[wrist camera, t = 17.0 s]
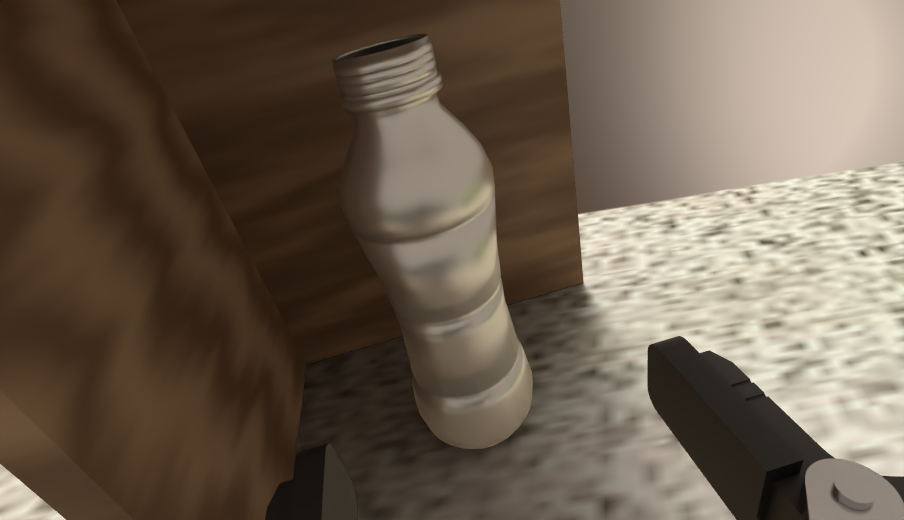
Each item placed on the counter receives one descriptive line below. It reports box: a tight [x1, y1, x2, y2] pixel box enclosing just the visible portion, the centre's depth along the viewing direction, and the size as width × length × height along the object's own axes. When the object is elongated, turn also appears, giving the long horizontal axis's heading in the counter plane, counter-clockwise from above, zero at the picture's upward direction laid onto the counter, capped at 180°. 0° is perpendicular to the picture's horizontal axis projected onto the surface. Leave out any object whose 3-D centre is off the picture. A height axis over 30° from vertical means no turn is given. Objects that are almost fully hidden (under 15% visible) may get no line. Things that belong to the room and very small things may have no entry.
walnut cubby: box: [0, 0, 583, 520], centre depth 20 cm, size 19×23×29 cm
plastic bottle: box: [332, 33, 533, 449], centre depth 22 cm, size 6×7×20 cm
